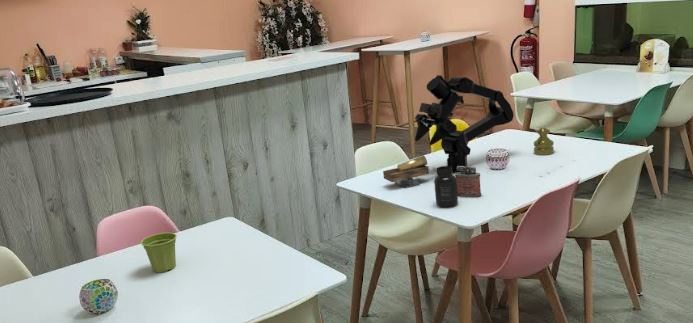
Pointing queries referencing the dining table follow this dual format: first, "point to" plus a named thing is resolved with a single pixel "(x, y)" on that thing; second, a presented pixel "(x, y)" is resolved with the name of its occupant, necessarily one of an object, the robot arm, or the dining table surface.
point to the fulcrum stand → (407, 183)
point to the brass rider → (412, 164)
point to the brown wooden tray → (404, 174)
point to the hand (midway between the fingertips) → (422, 142)
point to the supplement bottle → (445, 187)
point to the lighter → (468, 182)
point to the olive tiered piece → (543, 143)
